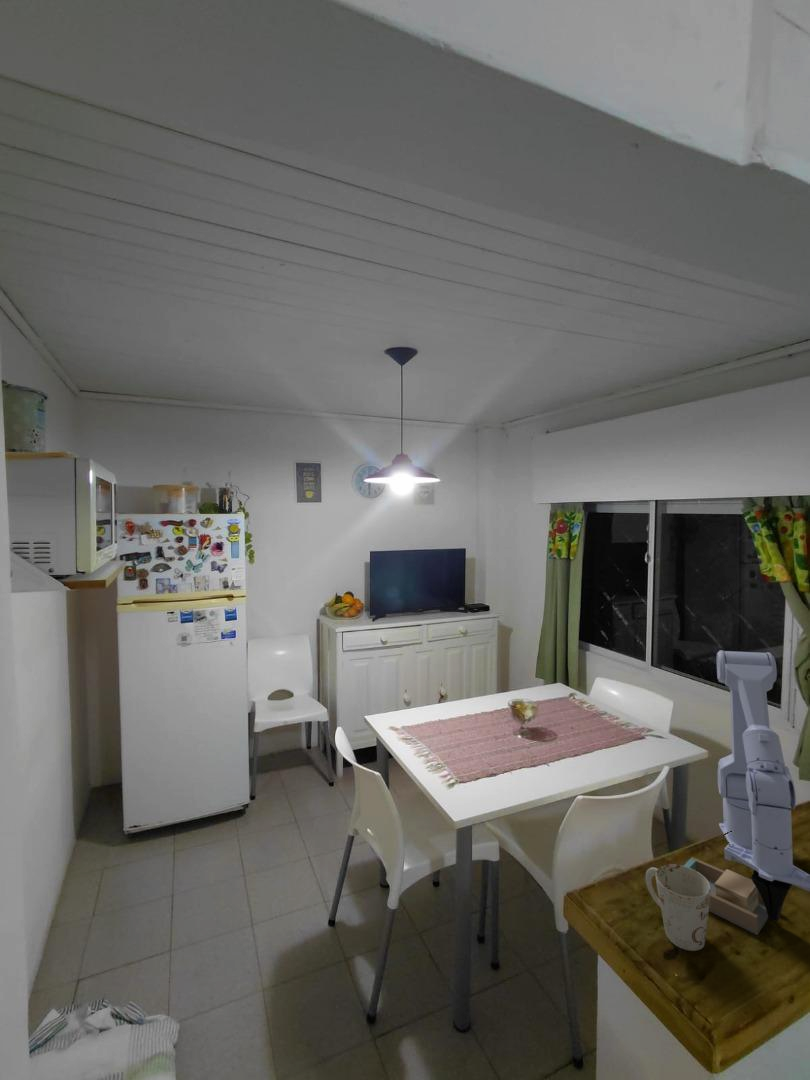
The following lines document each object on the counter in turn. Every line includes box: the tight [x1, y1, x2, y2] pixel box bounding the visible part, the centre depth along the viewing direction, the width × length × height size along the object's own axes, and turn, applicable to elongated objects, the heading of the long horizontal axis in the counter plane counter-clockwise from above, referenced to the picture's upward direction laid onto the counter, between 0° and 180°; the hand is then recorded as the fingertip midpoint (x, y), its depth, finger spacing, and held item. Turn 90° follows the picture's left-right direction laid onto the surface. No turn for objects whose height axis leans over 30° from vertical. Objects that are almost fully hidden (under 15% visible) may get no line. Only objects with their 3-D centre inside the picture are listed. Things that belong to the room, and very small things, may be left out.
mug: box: [645, 863, 711, 952], centre depth 91 cm, size 8×13×10 cm, turn 22°
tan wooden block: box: [715, 868, 758, 913], centre depth 95 cm, size 5×6×4 cm
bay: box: [683, 856, 769, 936], centre depth 97 cm, size 14×9×3 cm, turn 39°
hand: (774, 916), depth 90 cm, fingers closed
